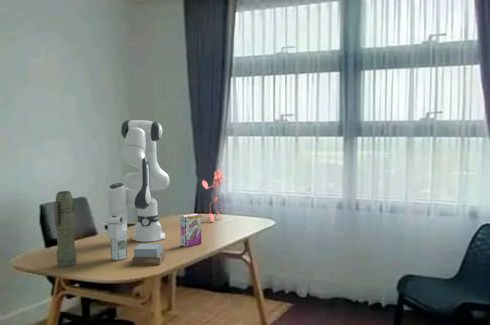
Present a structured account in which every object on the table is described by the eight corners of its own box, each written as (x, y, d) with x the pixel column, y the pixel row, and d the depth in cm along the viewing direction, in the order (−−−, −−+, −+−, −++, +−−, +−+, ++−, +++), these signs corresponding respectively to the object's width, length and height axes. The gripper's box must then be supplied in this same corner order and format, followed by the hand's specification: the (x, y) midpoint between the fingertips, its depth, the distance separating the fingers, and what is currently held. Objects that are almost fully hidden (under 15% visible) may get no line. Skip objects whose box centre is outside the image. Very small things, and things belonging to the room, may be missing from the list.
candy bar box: (186, 247, 293) (185, 217, 292) (180, 246, 297) (179, 215, 295) (202, 243, 301) (201, 214, 300) (196, 242, 304) (195, 213, 303)
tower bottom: (139, 259, 272) (139, 251, 272) (165, 259, 271) (165, 251, 271) (132, 266, 259) (132, 257, 259) (159, 266, 258) (159, 257, 258)
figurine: (199, 223, 359) (199, 170, 356) (219, 217, 381) (219, 167, 379) (219, 226, 352) (219, 171, 349) (238, 219, 374) (239, 168, 371)
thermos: (82, 262, 266) (79, 190, 263) (67, 268, 254) (64, 193, 252) (66, 261, 268) (63, 189, 266) (51, 267, 257) (47, 193, 254)
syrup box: (120, 256, 275) (119, 228, 274) (127, 258, 271) (126, 229, 270) (110, 259, 271) (109, 230, 270) (118, 260, 267) (117, 231, 266)
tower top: (140, 251, 271) (140, 243, 270) (162, 251, 270) (162, 243, 270) (134, 257, 260) (133, 249, 259) (157, 257, 259) (156, 248, 259)
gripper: (117, 213, 280) (118, 240, 281) (104, 220, 260) (106, 249, 261) (129, 213, 279) (130, 239, 281) (118, 220, 259) (119, 249, 260)
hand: (118, 244), depth 270 cm, fingers closed on syrup box, 8 cm apart
